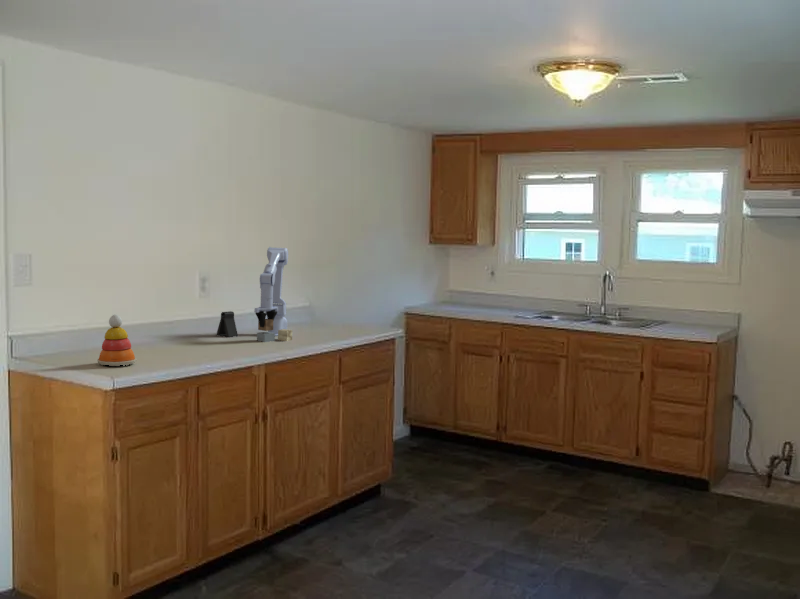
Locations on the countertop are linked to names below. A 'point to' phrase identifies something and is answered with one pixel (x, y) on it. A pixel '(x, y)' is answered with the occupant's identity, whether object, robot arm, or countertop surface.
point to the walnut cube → (266, 325)
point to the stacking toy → (116, 345)
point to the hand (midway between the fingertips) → (266, 326)
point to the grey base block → (265, 336)
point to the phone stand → (227, 325)
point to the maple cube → (285, 335)
